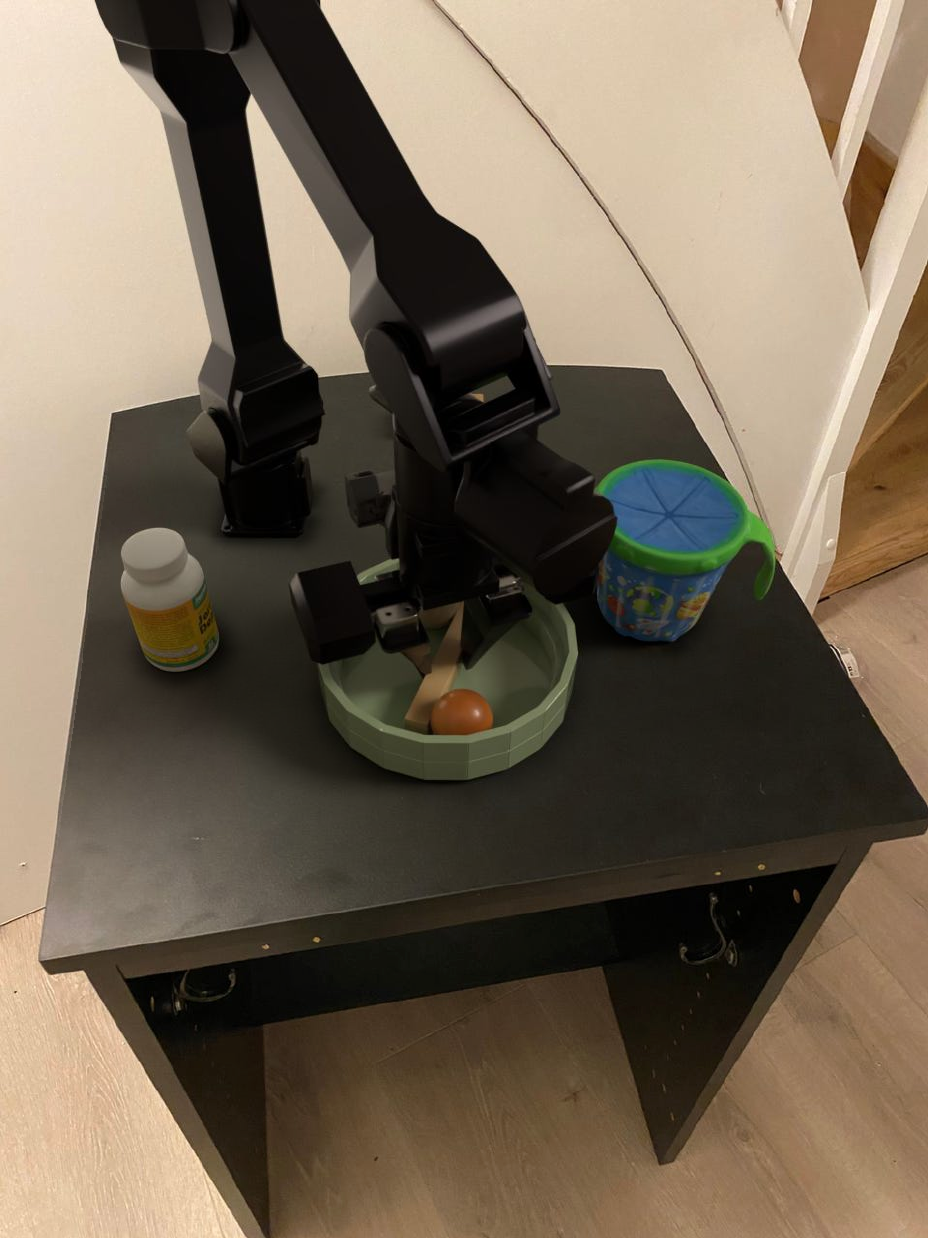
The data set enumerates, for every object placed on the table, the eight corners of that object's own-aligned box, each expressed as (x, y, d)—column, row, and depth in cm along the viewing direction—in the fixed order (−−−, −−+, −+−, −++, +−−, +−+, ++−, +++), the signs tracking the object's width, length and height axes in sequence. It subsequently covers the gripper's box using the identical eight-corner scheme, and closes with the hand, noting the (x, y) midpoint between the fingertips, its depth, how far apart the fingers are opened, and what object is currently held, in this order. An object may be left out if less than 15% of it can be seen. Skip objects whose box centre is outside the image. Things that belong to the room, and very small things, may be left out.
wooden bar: (428, 739, 61) (427, 725, 60) (405, 733, 61) (403, 718, 60) (486, 613, 69) (486, 598, 68) (465, 608, 69) (465, 592, 68)
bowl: (309, 784, 59) (301, 741, 56) (334, 592, 71) (329, 548, 68) (580, 785, 60) (588, 743, 56) (560, 594, 72) (566, 550, 68)
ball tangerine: (417, 750, 60) (443, 732, 57) (423, 693, 62) (450, 672, 59) (472, 765, 61) (501, 747, 58) (477, 708, 63) (506, 689, 60)
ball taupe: (419, 647, 67) (391, 604, 65) (425, 617, 71) (398, 575, 69) (468, 627, 66) (441, 582, 64) (472, 597, 69) (446, 554, 68)
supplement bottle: (145, 624, 69) (111, 524, 62) (219, 614, 70) (194, 514, 63) (143, 680, 65) (107, 580, 58) (221, 668, 66) (195, 569, 59)
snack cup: (759, 586, 72) (795, 481, 65) (745, 686, 66) (783, 582, 58) (562, 543, 76) (575, 438, 68) (529, 635, 69) (539, 529, 61)
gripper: (540, 388, 61) (525, 564, 72) (254, 444, 56) (286, 622, 68) (617, 491, 54) (587, 668, 65) (297, 564, 49) (324, 741, 60)
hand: (445, 670), depth 65 cm, fingers closed on wooden bar, 3 cm apart
